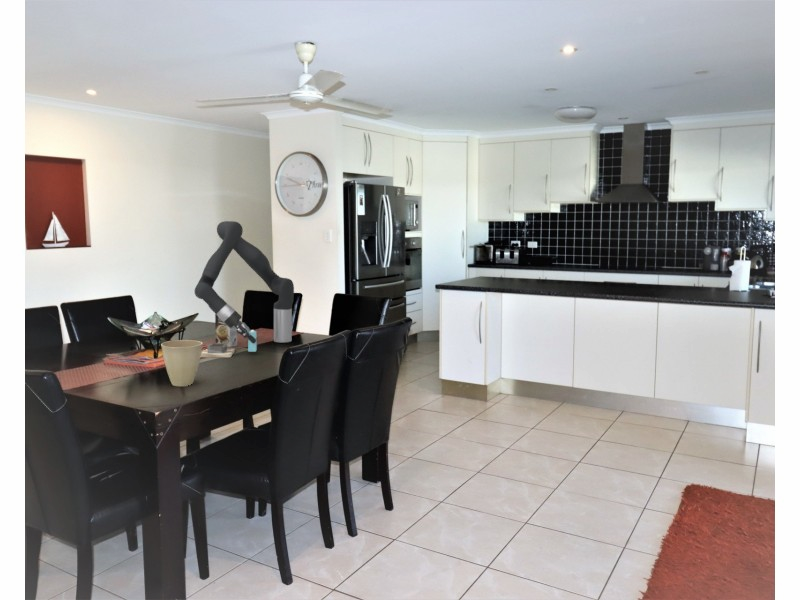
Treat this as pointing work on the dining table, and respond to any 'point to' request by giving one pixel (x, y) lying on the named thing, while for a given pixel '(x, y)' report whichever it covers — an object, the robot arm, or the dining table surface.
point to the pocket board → (218, 350)
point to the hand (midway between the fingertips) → (255, 341)
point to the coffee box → (225, 333)
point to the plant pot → (182, 360)
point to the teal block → (252, 346)
